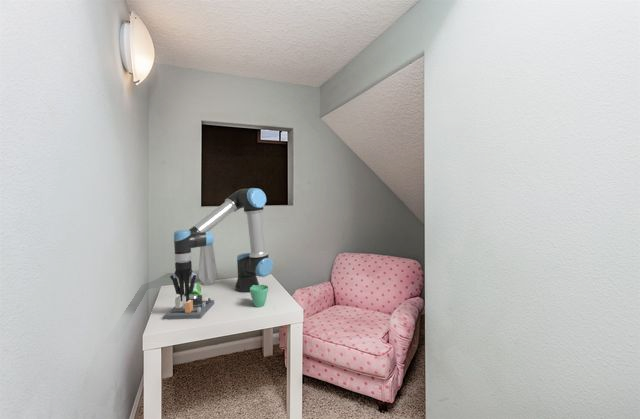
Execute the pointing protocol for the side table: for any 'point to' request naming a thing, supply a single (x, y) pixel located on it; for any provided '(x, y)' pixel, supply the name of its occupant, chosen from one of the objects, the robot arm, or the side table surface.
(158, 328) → the side table surface
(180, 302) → the fader
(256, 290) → the mug
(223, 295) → the side table surface
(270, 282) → the side table surface
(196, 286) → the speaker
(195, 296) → the button
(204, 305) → the panel
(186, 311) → the fader
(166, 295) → the side table surface
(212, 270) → the vase
